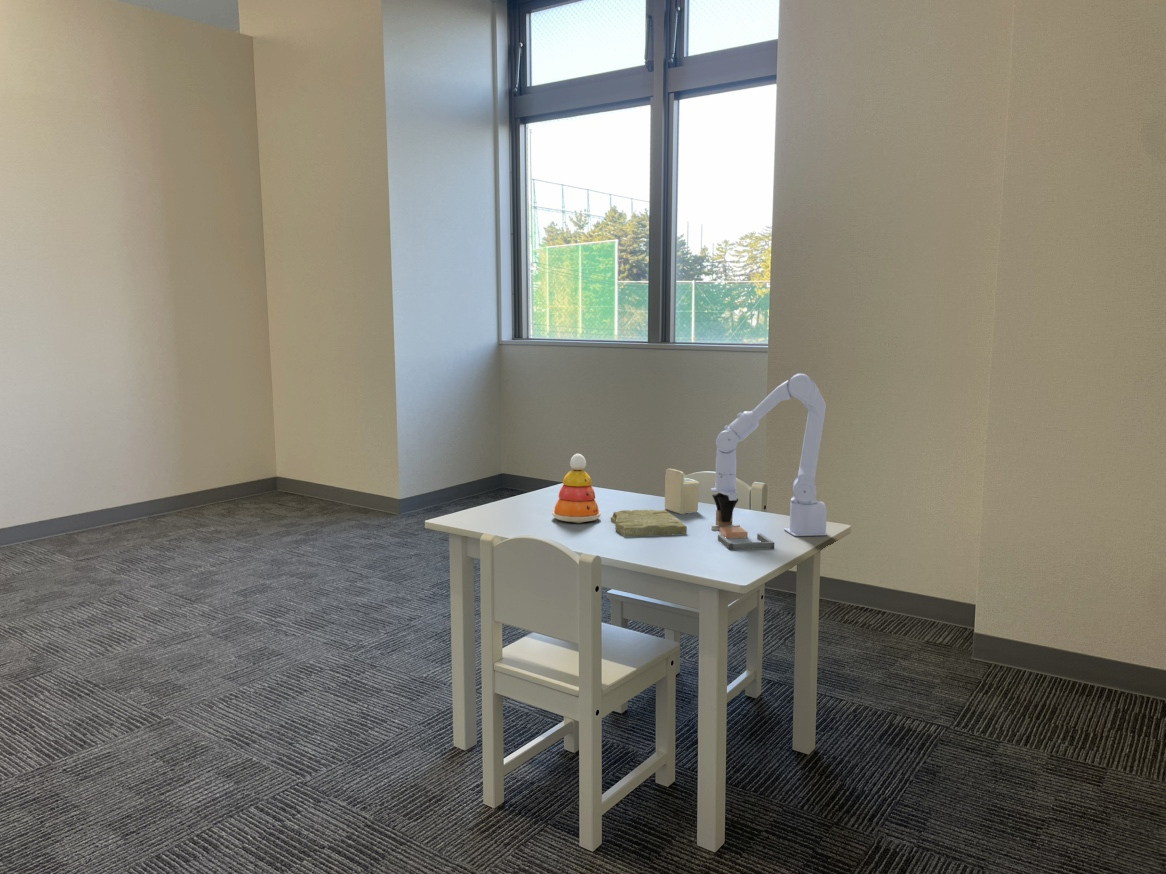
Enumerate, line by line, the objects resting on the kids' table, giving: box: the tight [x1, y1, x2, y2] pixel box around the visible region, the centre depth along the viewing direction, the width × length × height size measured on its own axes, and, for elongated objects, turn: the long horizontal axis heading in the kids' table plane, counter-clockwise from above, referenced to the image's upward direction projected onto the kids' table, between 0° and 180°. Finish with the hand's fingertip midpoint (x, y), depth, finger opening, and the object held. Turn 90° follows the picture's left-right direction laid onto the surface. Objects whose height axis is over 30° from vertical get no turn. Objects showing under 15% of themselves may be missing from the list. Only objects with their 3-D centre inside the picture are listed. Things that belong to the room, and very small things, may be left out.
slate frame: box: [717, 533, 775, 551], centre depth 227 cm, size 12×10×2 cm
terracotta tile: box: [719, 526, 748, 539], centre depth 237 cm, size 6×6×2 cm
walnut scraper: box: [711, 509, 741, 531], centre depth 244 cm, size 8×3×5 cm, turn 98°
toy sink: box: [664, 468, 701, 515], centre depth 267 cm, size 8×7×13 cm
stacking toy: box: [551, 453, 601, 524], centre depth 253 cm, size 14×14×20 cm
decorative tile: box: [610, 509, 688, 537], centre depth 245 cm, size 19×20×4 cm
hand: (724, 520), depth 245 cm, fingers closed on walnut scraper, 2 cm apart
